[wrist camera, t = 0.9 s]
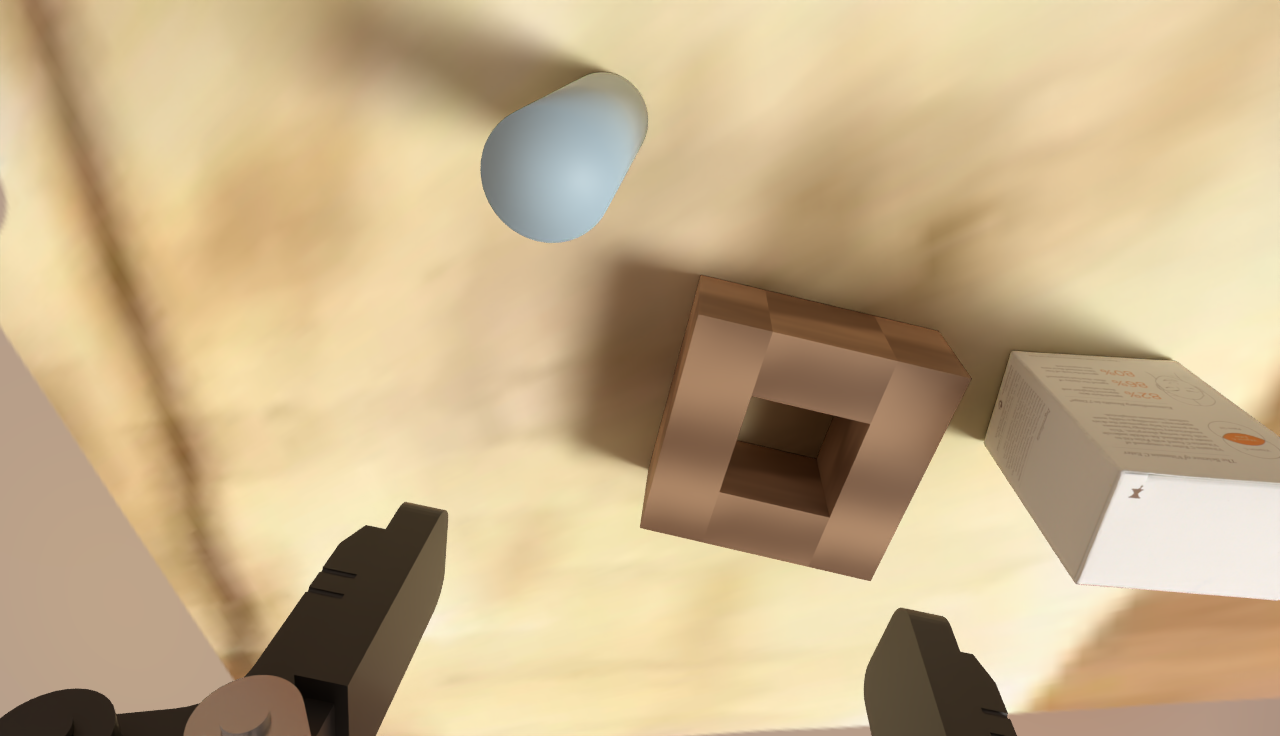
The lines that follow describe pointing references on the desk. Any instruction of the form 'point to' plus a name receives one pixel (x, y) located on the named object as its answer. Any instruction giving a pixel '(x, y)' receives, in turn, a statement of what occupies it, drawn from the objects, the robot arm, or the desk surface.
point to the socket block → (811, 379)
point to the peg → (564, 157)
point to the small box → (1141, 474)
